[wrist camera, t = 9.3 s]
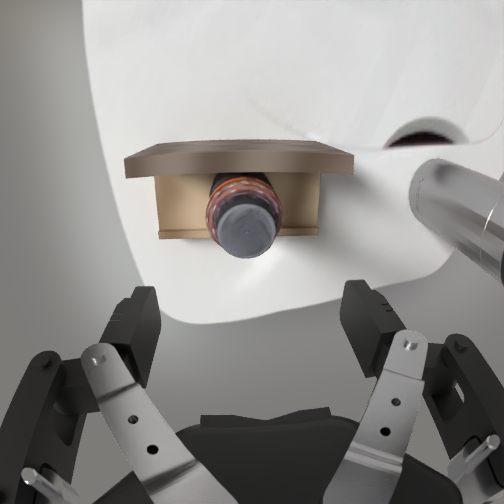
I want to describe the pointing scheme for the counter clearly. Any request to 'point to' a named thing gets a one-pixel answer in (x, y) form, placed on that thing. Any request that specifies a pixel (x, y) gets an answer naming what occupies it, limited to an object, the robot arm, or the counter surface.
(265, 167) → the cleat board
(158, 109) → the counter surface
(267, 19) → the counter surface
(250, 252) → the supplement bottle
